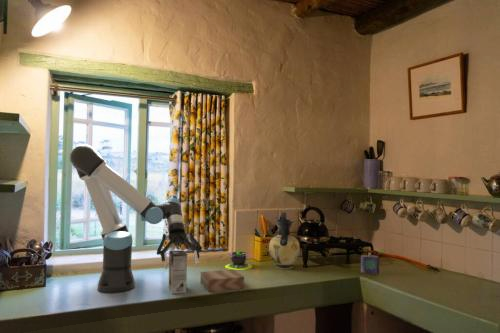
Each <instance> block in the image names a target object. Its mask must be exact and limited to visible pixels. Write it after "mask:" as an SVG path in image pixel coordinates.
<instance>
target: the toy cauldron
mask: <svg viewBox="0 0 500 333" xmlns="http://www.w3.org/2000/svg"><path fill="white" fill-rule="evenodd" d="M238 249H240V250H239V251H235V249H232V251H233V252H229V253H228V255H230V257H229V258H230V260H231V263H228V264H226V265H224V267H225V269H226V270H231V269H234V270H235V271H244V270H250V269H252V268H253V265H251V264H248V263H246V261H247V256H249V255H250V254H249V253H247V252H245V251H241V250H242V247H238Z"/></svg>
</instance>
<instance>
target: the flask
mask: <svg viewBox="0 0 500 333" xmlns="http://www.w3.org/2000/svg"><path fill="white" fill-rule="evenodd" d="M360 273H361V274H367V275H368V274H369V275H371V274H372V275H379V274H380V257H379V256H378V255H374V254H372V252H368V255H361V256H360Z"/></svg>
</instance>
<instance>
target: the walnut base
mask: <svg viewBox="0 0 500 333" xmlns="http://www.w3.org/2000/svg"><path fill="white" fill-rule="evenodd" d="M200 284H201V286H203V287H204V289H205V290H206V291H207V292H208V293H212V292H221V291H232V289H233V290H240V289H241V288H242V289H245V276H244V275H242V274H241V273H239V272H238V270H234V269H221V270H219V269H218V270H211V271H210V270H209V271H207V270H206V271H201V272H200Z"/></svg>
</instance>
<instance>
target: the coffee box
mask: <svg viewBox="0 0 500 333" xmlns="http://www.w3.org/2000/svg"><path fill="white" fill-rule="evenodd" d="M168 253H169V254H168V255H169V257H168V289H169V292H170V293H171V295H172V294H174V295H175V294H182V293H185V294H186V293H187V274H188V273H187V271H188V270H187V268H188V254H187V252H186V251H185V250H184V249H182V250H175V249H174V250H169V252H168Z"/></svg>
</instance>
